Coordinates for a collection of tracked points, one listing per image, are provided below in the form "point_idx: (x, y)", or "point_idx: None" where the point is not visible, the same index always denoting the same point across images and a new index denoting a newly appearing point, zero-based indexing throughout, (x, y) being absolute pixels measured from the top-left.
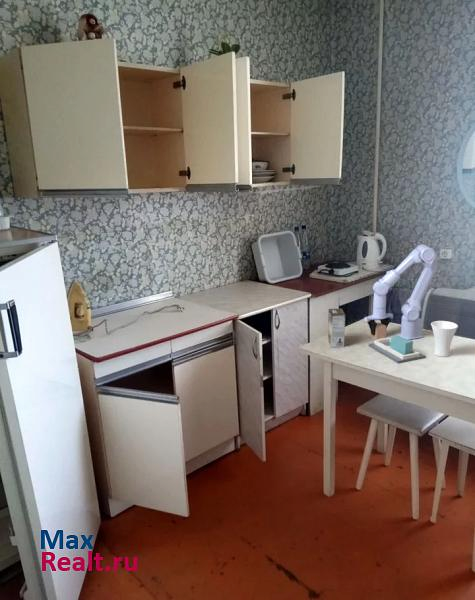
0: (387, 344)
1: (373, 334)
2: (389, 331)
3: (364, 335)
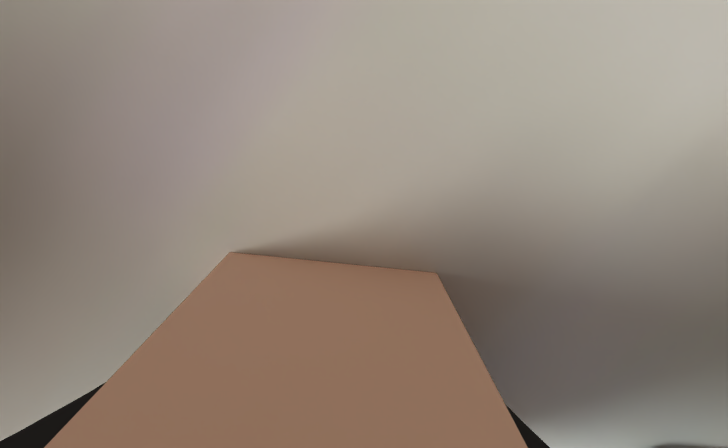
0: None
1: None
2: (715, 261)
3: (125, 181)
